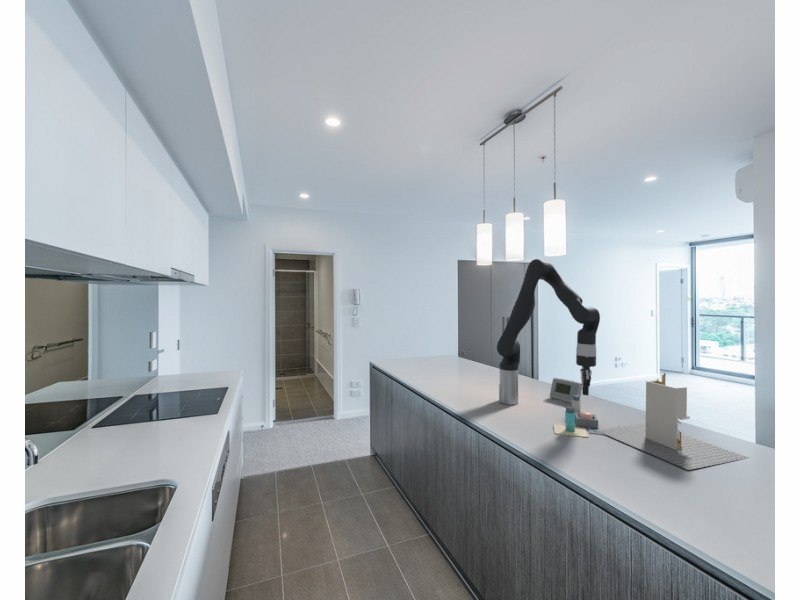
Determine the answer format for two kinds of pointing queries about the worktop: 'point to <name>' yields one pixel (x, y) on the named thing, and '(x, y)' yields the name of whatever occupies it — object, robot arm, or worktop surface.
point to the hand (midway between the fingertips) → (585, 394)
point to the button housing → (586, 421)
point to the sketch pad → (578, 432)
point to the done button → (586, 415)
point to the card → (593, 431)
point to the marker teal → (570, 419)
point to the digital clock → (565, 389)
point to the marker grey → (576, 403)
